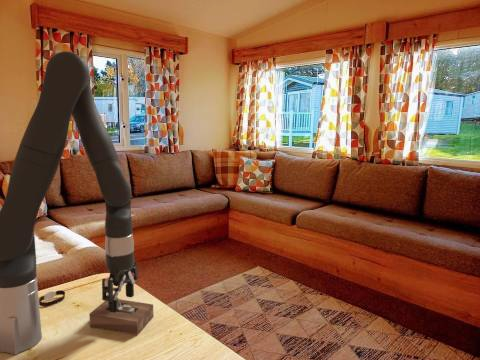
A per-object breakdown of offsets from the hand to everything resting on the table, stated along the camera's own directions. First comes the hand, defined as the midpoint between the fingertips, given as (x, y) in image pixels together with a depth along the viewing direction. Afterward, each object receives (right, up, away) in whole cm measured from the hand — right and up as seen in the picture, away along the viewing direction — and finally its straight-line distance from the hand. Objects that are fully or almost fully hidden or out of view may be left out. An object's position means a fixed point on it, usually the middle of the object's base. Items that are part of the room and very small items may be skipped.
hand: (122, 303), depth 100 cm
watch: (-26, -4, +11) cm, 28 cm away
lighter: (0, -6, +1) cm, 6 cm away
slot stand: (0, -6, +1) cm, 6 cm away
